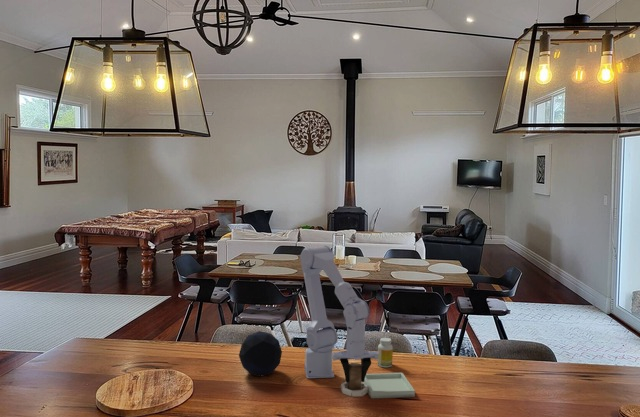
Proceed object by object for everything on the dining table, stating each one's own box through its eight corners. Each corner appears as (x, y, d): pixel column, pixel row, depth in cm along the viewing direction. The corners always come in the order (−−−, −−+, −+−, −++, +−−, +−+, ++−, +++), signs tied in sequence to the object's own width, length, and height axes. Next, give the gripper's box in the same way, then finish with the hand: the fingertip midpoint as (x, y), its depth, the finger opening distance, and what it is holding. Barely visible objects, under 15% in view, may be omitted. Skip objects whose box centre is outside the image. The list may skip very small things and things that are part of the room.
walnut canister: (348, 393, 157) (349, 368, 156) (346, 387, 161) (347, 363, 161) (362, 392, 157) (363, 368, 157) (359, 386, 162) (360, 362, 161)
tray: (370, 398, 154) (371, 392, 154) (361, 379, 168) (361, 373, 167) (414, 396, 155) (414, 390, 155) (402, 378, 169) (402, 372, 169)
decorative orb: (235, 349, 179) (238, 324, 169) (276, 346, 183) (281, 321, 173) (239, 386, 169) (242, 361, 159) (282, 381, 173) (288, 357, 163)
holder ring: (343, 396, 155) (343, 392, 154) (339, 385, 163) (339, 380, 163) (370, 395, 156) (370, 391, 155) (364, 384, 164) (364, 380, 164)
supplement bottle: (374, 364, 181) (375, 338, 181) (384, 361, 185) (385, 335, 184) (385, 369, 177) (385, 342, 176) (395, 365, 180) (396, 339, 180)
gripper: (335, 344, 153) (334, 387, 154) (381, 343, 155) (379, 385, 156) (331, 336, 160) (331, 377, 161) (375, 335, 162) (374, 376, 163)
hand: (354, 381), depth 159 cm, fingers closed on walnut canister, 4 cm apart
